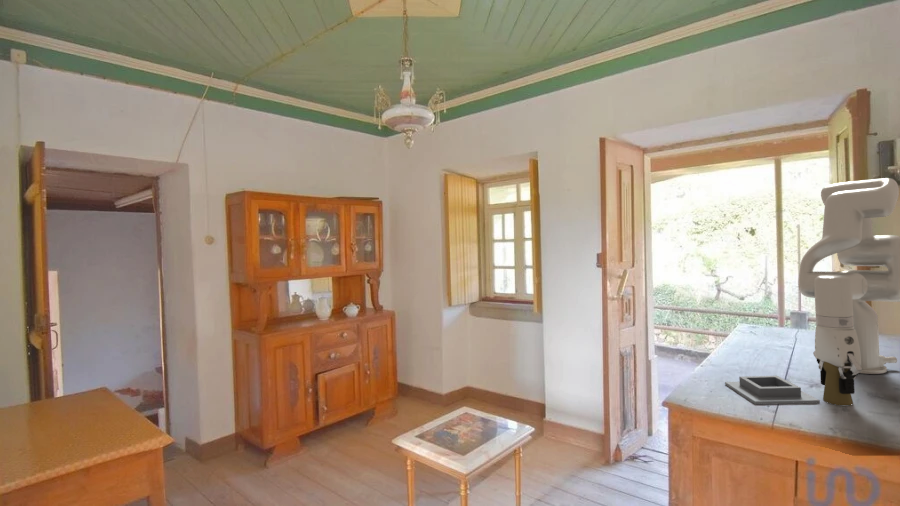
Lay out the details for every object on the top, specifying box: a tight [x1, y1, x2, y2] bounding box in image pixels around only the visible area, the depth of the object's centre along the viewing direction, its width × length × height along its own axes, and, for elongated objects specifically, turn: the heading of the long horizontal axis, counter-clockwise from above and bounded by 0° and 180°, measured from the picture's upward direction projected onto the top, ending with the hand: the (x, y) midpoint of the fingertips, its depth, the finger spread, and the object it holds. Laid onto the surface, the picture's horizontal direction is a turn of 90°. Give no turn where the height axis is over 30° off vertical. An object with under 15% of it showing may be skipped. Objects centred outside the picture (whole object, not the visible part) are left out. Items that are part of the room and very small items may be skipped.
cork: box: [822, 362, 854, 406], centre depth 116 cm, size 6×6×11 cm
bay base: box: [724, 375, 821, 405], centre depth 124 cm, size 16×16×3 cm
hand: (837, 388), depth 116 cm, fingers open, 5 cm apart
